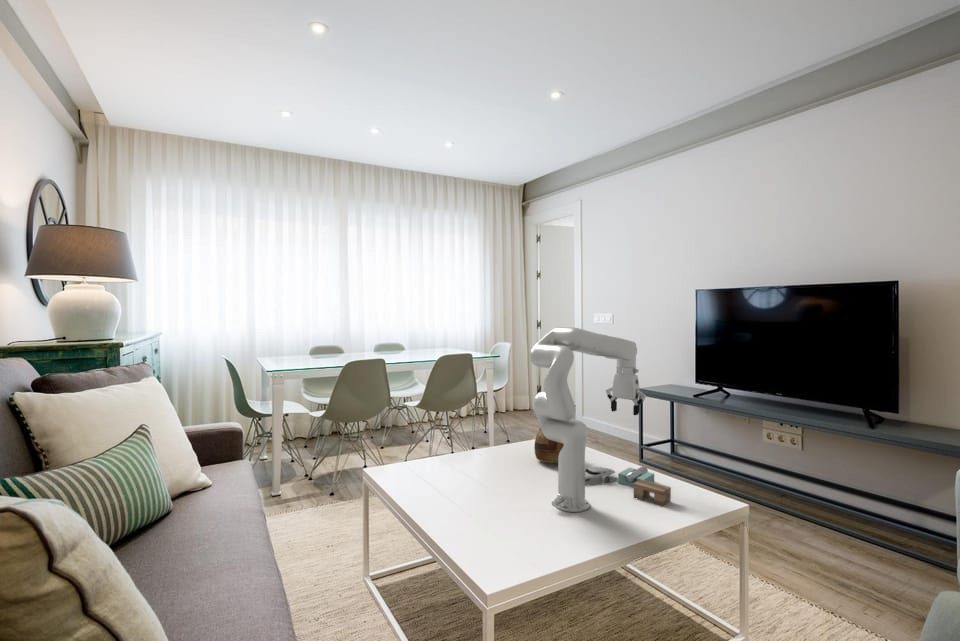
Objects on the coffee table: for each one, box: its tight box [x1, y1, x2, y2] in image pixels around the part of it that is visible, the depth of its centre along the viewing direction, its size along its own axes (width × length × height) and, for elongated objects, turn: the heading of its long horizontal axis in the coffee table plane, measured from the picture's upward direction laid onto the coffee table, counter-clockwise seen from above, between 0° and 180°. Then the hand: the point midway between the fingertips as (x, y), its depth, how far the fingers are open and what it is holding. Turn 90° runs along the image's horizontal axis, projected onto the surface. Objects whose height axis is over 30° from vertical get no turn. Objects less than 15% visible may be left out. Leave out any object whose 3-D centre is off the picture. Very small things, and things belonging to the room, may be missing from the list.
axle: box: [625, 465, 649, 483], centre depth 194 cm, size 14×3×3 cm, turn 136°
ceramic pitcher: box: [534, 427, 563, 464], centre depth 221 cm, size 20×20×30 cm
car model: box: [585, 466, 616, 486], centre depth 197 cm, size 11×24×5 cm, turn 110°
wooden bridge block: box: [633, 480, 672, 507], centre depth 177 cm, size 6×12×6 cm, turn 46°
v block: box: [617, 467, 655, 488], centre depth 194 cm, size 10×11×4 cm
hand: (624, 412), depth 193 cm, fingers open, 9 cm apart
